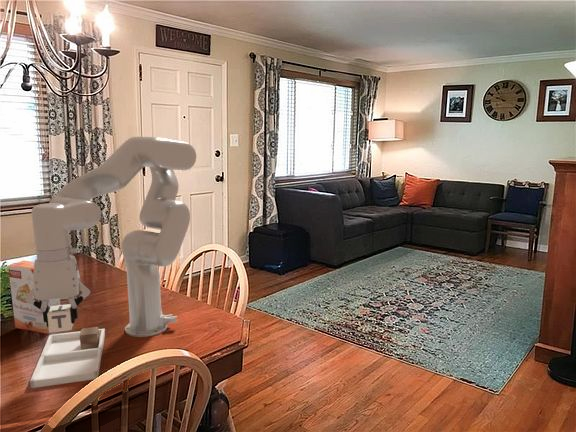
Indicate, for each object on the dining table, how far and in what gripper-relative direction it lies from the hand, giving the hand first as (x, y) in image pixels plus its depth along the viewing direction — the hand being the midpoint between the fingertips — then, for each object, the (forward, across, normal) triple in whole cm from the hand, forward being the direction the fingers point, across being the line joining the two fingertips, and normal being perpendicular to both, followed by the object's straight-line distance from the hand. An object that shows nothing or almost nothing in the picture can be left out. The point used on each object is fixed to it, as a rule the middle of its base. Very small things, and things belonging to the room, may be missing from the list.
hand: (61, 322), depth 117 cm
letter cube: (+1, 0, 0) cm, 1 cm away
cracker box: (+14, +12, -30) cm, 35 cm away
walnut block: (+13, -5, -12) cm, 19 cm away
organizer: (+14, -1, -6) cm, 15 cm away
